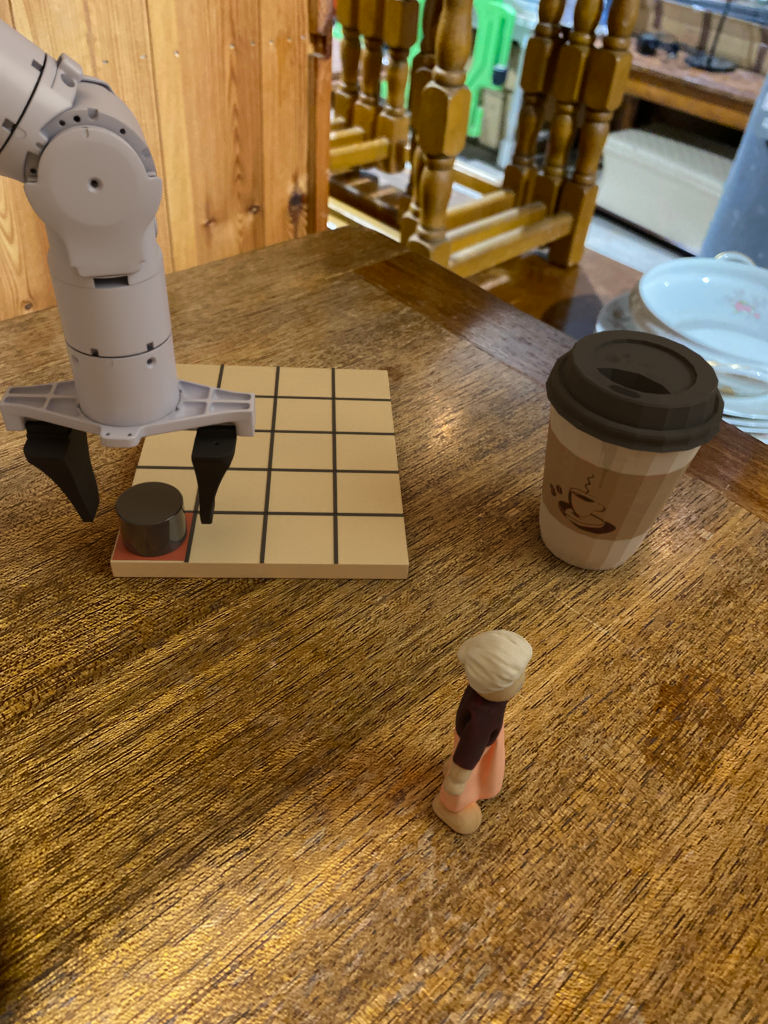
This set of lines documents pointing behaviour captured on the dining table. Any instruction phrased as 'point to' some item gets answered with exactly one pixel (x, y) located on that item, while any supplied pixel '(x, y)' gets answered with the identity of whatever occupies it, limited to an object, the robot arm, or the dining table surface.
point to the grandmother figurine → (481, 726)
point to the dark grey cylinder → (151, 519)
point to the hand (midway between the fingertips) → (150, 513)
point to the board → (288, 482)
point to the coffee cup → (620, 441)
